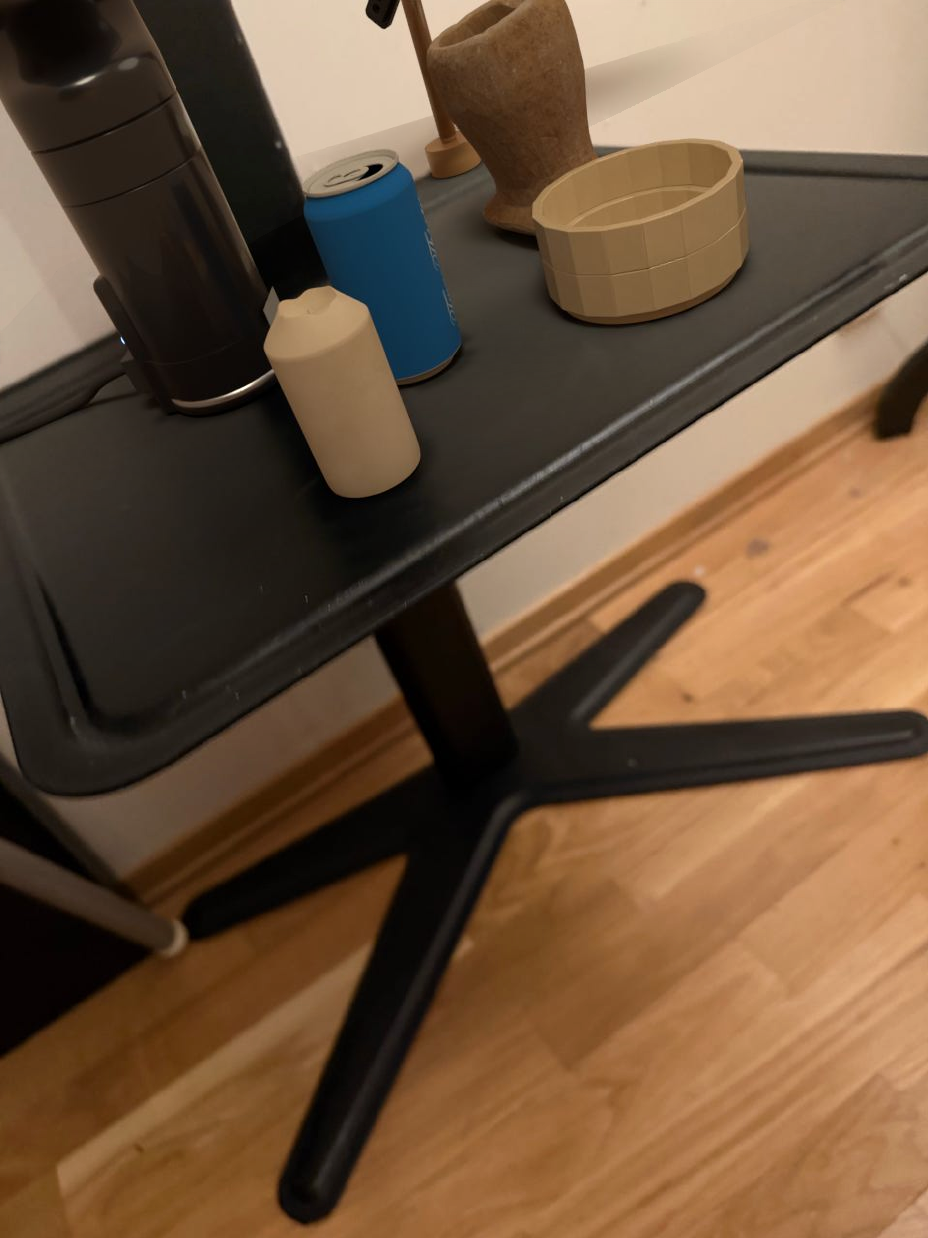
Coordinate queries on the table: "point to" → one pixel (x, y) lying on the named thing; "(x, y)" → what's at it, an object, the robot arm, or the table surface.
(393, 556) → the table surface
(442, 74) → the stone cup
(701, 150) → the bowl
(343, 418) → the candle
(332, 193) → the beverage can
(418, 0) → the wooden plunger
